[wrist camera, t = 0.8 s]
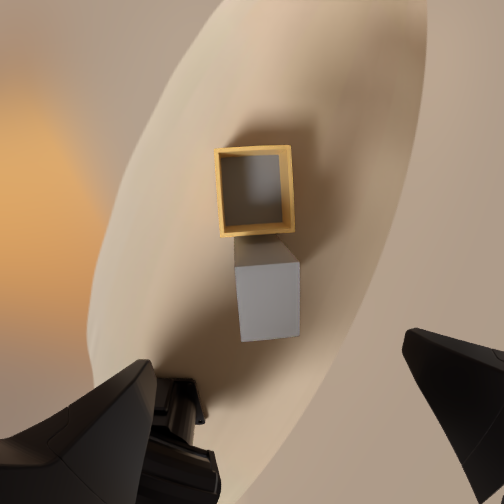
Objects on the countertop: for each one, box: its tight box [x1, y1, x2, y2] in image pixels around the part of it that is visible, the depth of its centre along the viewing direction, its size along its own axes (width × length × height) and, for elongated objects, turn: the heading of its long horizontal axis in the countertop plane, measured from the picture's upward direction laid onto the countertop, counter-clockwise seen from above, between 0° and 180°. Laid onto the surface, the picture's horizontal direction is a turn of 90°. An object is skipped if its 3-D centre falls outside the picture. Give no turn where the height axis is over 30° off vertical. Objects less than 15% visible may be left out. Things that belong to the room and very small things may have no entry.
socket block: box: [214, 145, 295, 238], centre depth 18 cm, size 5×5×4 cm
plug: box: [234, 234, 300, 342], centre depth 17 cm, size 4×3×8 cm
